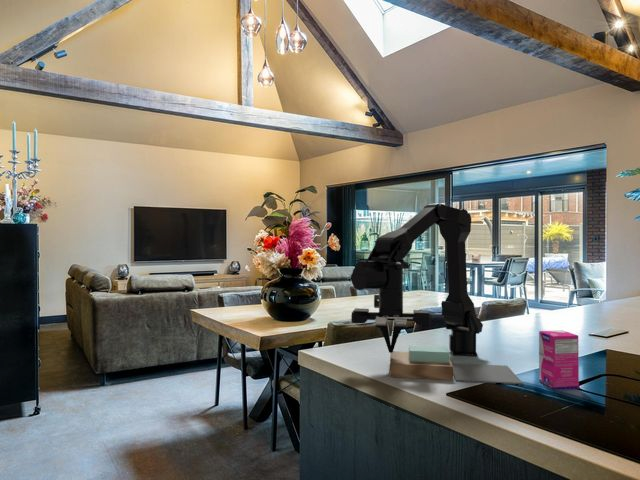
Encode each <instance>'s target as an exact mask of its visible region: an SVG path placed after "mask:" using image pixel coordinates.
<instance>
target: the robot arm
mask: <svg viewBox="0 0 640 480" xmlns="http://www.w3.org/2000/svg"><path fill="white" fill-rule="evenodd" d="M434 225H437V226H438V229H439V233H440V235H441V237H442V238H443V240H444V241H445V245H446V263H447V265H446V267H447V286H448V295H447V296H446V298H445V300H442V301H441V305H440V306H441V316H442V320H443V322H444V326H445V330H450V331H451V332H450V334H449V335H448V337H449V339H448V342H449V343H448V350H449V352H451V354H452V355H453V356H472V357H474V356H477V357H478V353H477V335H479V334H480V333H482V331H483V327H484V324H483V322H482V321H481V320H480V319H479V317H478V316H477V313H476V309H475V308H476V307H475V304H474V301H473V300H472V299H471V297H470V296H469V294H468V277H467V276H468V274H467V253H466V252H467V251H466V241H467V239H468V237H469V235H470V233H471V230H472V217H471V213H469V212H468V210H467V209H465V208H461V209H460V208H456V207H451V206H449V205H446V204H443V203H441V202H439V203H438V202H437V203H428V204H426V205H425V206H423V209H421V210H420V211H419V212H418V213H417V214H416V215H414V216H413V217H411V219H409V220H408V221H407V222H406V223H404V224H403V225H402V226H401V227H399V228H397V229H396V230H393V231H389V232H386V233H384V234H383V235H381V236H379V237H377V239H375V244H374V246H373V248H372V250H371V252H370V253H369V255H368V257H367V258H366V260H357V261H356V262H357V263H356V266H355V267H354V268H353V270H352V272H351V274H350V278H351V280H350V281H351V285H352V286H353V287H354V289H355V290H357V291H369V290H378V294H374V296H373V307H374V309H378V312H376V311H370V308H359V307H358V308H354V309H353V310H352V312H351V317H350V319H351V323H352V324H365V323H366V322H368V321H375V328H379V330H380V331H381V333H382V336H383V338H384V341H385V343H386V348H387V351H388V353H389V354H390V353H392V352H393V351H394V349H395V346H396V343H397V340H398V338H399V336H400V334H401V331H402V330H403V329H406V328H407V323H408V322H414V323H415V324H417V326H432V314H431V312H430V311H429V310H427V309H413V310H412V311H413V312H410V313H409V312H404V270H405V269H407V270H408V269H410V265H409V264H408V263H407V262H406V261H405V260H404V259H405V257H406V256H407V255H408V254H409V253H410V251H411V250H412V247H413V243H414V242H415V241H416V240H417V239H418V238H419V237H421V236H422V235H423V234H424V233H425V232H427V230H429V229H430V228H431V227H432V226H434ZM389 321H393V326H392V327H393V328H392V334H391V336H390V328H389Z"/></svg>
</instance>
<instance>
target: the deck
mask: <svg viewBox="0 0 640 480" xmlns="http://www.w3.org/2000/svg"><path fill="white" fill-rule="evenodd" d="M389 354H390V356H389V358H390V360H389V361H390V362H389V377H391V378H408V379H424V380H425V379H429V380H447V381H453V380H454V375H453V365H452V361H451V359H450V358H449V363H440V362H418V361H410V360H409V351H394V350H393V352H392V353H389Z"/></svg>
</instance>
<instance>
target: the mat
mask: <svg viewBox="0 0 640 480" xmlns="http://www.w3.org/2000/svg"><path fill="white" fill-rule="evenodd" d="M451 363H452V362H451ZM452 365H453V379H455V382H461V383H462V382H463V383H481V384H482V383H483V384H496V383H502V384H501V385H516V384H518V385H519V386H522V385H524V382H523V381H522V380H521V379H520V378H519V377H518V376H517V375H516V374H515V372H513V371H512V369H511V367H509V366H508V365H500V364H481V363H480V364H479V363H477V364H476V363H457V362H453V363H452ZM503 383H504V384H503ZM518 385H517V386H518Z"/></svg>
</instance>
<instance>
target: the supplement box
mask: <svg viewBox="0 0 640 480" xmlns="http://www.w3.org/2000/svg"><path fill="white" fill-rule="evenodd" d="M579 357H580V355H579V335H578V334H576V333H572V332H568V331H566V330H563V329H557V330H553V329H552V330H538V373H539V374H538V378H539V379H538V380H539V381H538V382H540V383H542V384H544V385H545V386H547V385H548V387H549V386H550V387H549V388H551V387H552V388H553V389H552V388H551V389H552V390H554V389H562V390H579V389H580V379H579V378H580V377H579V375H580V373H579V370H580V369H579V367H580V363H579V359H580V358H579Z"/></svg>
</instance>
